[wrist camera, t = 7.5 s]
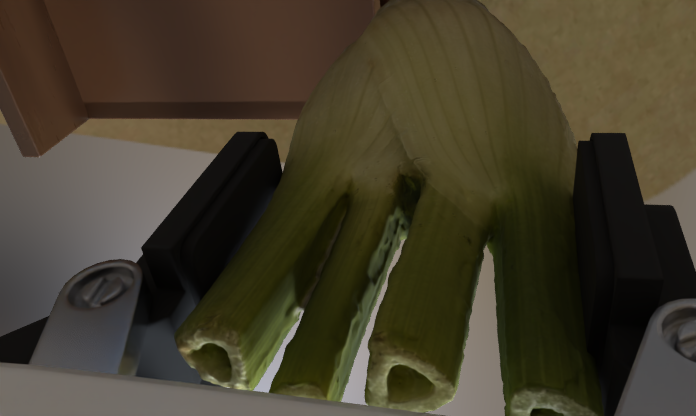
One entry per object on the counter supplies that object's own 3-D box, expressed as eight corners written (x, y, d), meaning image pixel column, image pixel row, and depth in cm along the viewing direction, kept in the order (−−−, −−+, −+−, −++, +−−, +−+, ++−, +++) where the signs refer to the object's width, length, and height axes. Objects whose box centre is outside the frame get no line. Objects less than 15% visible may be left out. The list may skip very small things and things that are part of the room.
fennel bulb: (587, 48, 16) (669, 433, 7) (483, 176, 19) (439, 569, 10) (399, -65, 16) (203, 180, 6) (323, 85, 19) (111, 405, 9)
